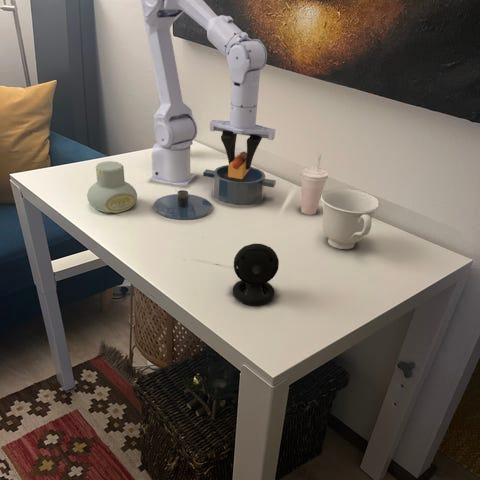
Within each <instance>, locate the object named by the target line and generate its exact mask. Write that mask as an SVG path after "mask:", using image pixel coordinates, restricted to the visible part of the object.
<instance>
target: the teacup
mask: <svg viewBox="0 0 480 480" xmlns="http://www.w3.org/2000/svg"><path fill="white" fill-rule="evenodd" d="M320 201H321V202H322V203H323V204H322V209H323V211H322V230H323V234H324V235H325V236H326V237H327V238H328V239H327V243H328V244H329V245H330V246H331V247H333V248H336V249H339V250H351V249H353V248H354V247H355V245H356V243H358V242H360V241H361V240H362V239H363V238H365V236H367V235H369V233H370V231H371V228H372V218H373V216H374V214H375V212H376V211H377V210H378V209H380V207H381V206H380V205H381V204H380V201H379V200H378V199H377V198H376V197H375V196H373V195H372V194H370V193H367V192H366V191H365V192H364V191H362V190H357V189H353V188H331V189H327V190H326V191H324V192H322V194H321V197H320Z"/></svg>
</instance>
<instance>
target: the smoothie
mask: <svg viewBox="0 0 480 480" xmlns="http://www.w3.org/2000/svg"><path fill="white" fill-rule="evenodd" d="M321 156H322V153H321V152H318V155H317V162H316V166H315V167H311V166H309V167H304V168H302V169H301V170H300V173H299V176H300V177H301V179H300V180H301V181H300V188H301V189H300V212H301V213H302V214H304V215H315V214H317V211H318V207H319V204H320V201H321V195H322V194H323V191H324V188H325V183H326V181H327V180H328V178H329V177H328V176H329V173H328V171H326V169H322V168H320V163H321V158H322V157H321Z"/></svg>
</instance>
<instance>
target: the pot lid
mask: <svg viewBox="0 0 480 480" xmlns="http://www.w3.org/2000/svg"><path fill="white" fill-rule="evenodd" d="M212 209H213V206H212V203H211V202H210V201H209V200H208V199H206V198H205V197H202V196H199V195H196V194H195V195H194V194H189V192H188V191H187V190H184V189H180V190H178V191H177V193H174V194H168V195H164V196H161V197H159V198H157V199H156V200H155V201H154V203H153V210H154V211H155V212H156V213H157V214H158V215H160V216H162V217H164V218H167V219H172V220H178V221H180V220H181V221H187V220H188V221H189V220H197V219H200V218H201V219H202V218H204V217H206V216H208V215H209V214H210V213H211V211H212Z"/></svg>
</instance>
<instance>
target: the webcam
mask: <svg viewBox="0 0 480 480" xmlns="http://www.w3.org/2000/svg"><path fill="white" fill-rule="evenodd" d="M233 259H234V260H233V271H234V274H235V275H236V277H237V278H238V279H239V281H236V282H235V283H234V285H233V287H232V294H233V297H234V298H235V299H236V300H237V301H239V302H241V303H243V304H246V305H250V306H261V305H265V304H268V303H269V302H272V300H273V299H274V297H275V293H276V291H275V288H274V287H273V285H272V284H271V283H269V282H270V281H271V280H273V278H274V277H275V276H276V274H277V273H278V271H279V265H280V261H279V257H278V254H277V253H276V251H274V249H273V248H272V247H271V246H268V245H266V244H263V243H251V244H247V245H244V246H243V247H242V248H240V249H239V250H238V251H237V253H236V254H235V256H234V258H233ZM244 288H245V291H246V292H245V293H244V292H242V289H244ZM263 290H264V291H265V292H266V293H265V294H264V292H263Z"/></svg>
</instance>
